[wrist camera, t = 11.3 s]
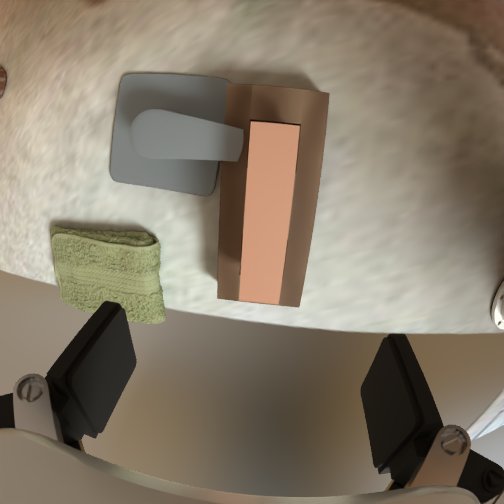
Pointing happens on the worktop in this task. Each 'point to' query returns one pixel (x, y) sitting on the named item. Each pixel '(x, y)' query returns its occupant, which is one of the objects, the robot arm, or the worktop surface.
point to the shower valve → (172, 132)
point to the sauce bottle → (2, 81)
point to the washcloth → (109, 271)
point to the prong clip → (267, 209)
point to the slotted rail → (305, 183)
